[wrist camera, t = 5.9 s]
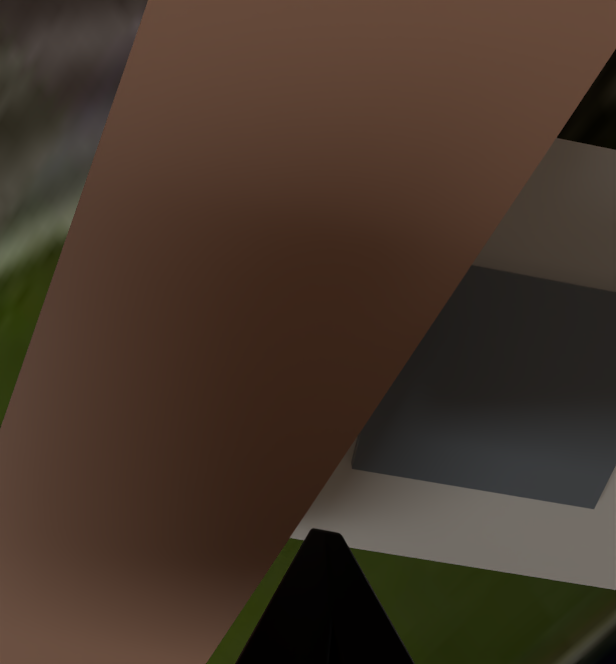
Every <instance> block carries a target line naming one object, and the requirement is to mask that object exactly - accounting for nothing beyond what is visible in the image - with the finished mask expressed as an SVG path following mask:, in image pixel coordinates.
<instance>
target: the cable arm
mask: <svg viewBox="0 0 616 664" xmlns="http://www.w3.org/2000/svg"><path fill="white" fill-rule="evenodd" d="M615 49H616V0H148V3H147V6H146V8H145V11H144V14H143V17H142V20H141V23H140V26H139V29H138V32H137V35H136V37H135V40H134V43H133V46H132V49H131V52H130V55H129V58H128V61H127V64H126V66H125V69H124V72H123V75H122V78H121V81H120V84H119V87H118V90H117V93H116V95H115V98H114V101H113V104H112V107H111V110H110V113H109V116H108V119H107V122H106V124H105V127H104V130H103V133H102V136H101V139H100V142H99V145H98V148H97V151H96V153H95V156H94V159H93V162H92V165H91V168H90V171H89V174H88V177H87V179H86V182H85V185H84V188H83V191H82V194H81V197H80V200H79V203H78V206H77V208H76V211H75V214H74V217H73V220H72V223H71V226H70V229H69V232H68V235H67V237H66V240H65V243H64V246H63V249H62V252H61V255H60V258H59V261H58V264H57V266H56V269H55V272H54V275H53V278H52V281H51V284H50V287H49V290H48V293H47V295H46V298H45V301H44V304H43V307H42V310H41V313H40V316H39V319H38V322H37V324H36V327H35V330H34V333H33V336H32V339H31V342H30V345H29V348H28V351H27V353H26V356H25V359H24V362H23V365H22V368H21V371H20V374H19V377H18V379H17V382H16V385H15V388H14V391H13V394H12V397H11V400H10V403H9V406H8V408H7V411H6V414H5V417H4V420H3V423H2V426H1V429H0V664H206V663H207V661H208V660H209V658H210V657H211V655H212V654H213V652H214V651H215V649H216V648H217V646H218V645H219V643H220V642H221V640H222V639H223V637H224V636H225V634H226V633H227V631H228V630H229V628H230V627H231V625H232V624H233V622H234V621H235V619H236V618H237V616H238V615H239V613H240V612H241V610H242V609H243V607H244V606H245V604H246V603H247V601H248V600H249V598H250V597H251V595H252V594H253V592H254V591H255V589H256V588H257V586H258V585H259V583H260V582H261V580H262V579H263V577H264V576H265V574H266V573H267V571H268V570H269V568H270V567H271V565H272V564H273V562H274V561H275V559H276V558H277V556H278V555H279V553H280V552H281V550H282V549H283V547H284V546H285V544H286V543H287V541H288V540H289V538H290V537H291V535H292V534H293V532H294V531H295V529H296V528H297V526H298V525H299V523H300V522H301V520H302V519H303V517H304V516H305V514H306V513H307V511H308V510H309V508H310V507H311V505H312V504H313V502H314V501H315V499H316V498H317V496H318V495H319V493H320V492H321V490H322V489H323V487H324V486H325V484H326V483H327V481H328V480H329V478H330V477H331V475H332V474H333V472H334V471H335V469H336V468H337V466H338V465H339V463H340V462H341V460H342V459H343V457H344V456H345V454H346V453H347V451H348V450H349V448H350V447H351V445H352V444H353V442H354V441H355V439H356V438H357V436H358V435H359V433H360V432H361V430H362V429H363V427H364V426H365V424H366V423H367V421H368V420H369V418H370V417H371V415H372V414H373V412H374V411H375V409H376V408H377V406H378V405H379V403H380V402H381V400H382V399H383V397H384V396H385V394H386V393H387V391H388V390H389V388H390V387H391V385H392V384H393V382H394V381H395V379H396V378H397V376H398V375H399V373H400V372H401V370H402V369H403V367H404V366H405V364H406V363H407V361H408V360H409V358H410V357H411V355H412V354H413V352H414V351H415V349H416V348H417V346H418V345H419V343H420V342H421V340H422V339H423V337H424V336H425V334H426V333H427V331H428V330H429V328H430V327H431V325H432V324H433V322H434V321H435V319H436V318H437V316H438V315H439V313H440V312H441V310H442V309H443V307H444V306H445V304H446V303H447V301H448V300H449V298H450V297H451V295H452V294H453V292H454V291H455V289H456V288H457V286H458V285H459V283H460V282H461V280H462V279H463V277H464V276H465V274H466V273H467V271H468V270H469V268H470V267H471V265H472V264H473V262H474V261H475V259H476V258H477V256H478V255H479V253H480V252H481V250H482V249H483V247H484V246H485V244H486V243H487V241H488V240H489V238H490V237H491V235H492V234H493V232H494V231H495V229H496V228H497V226H498V225H499V223H500V222H501V220H502V219H503V217H504V216H505V214H506V213H507V211H508V210H509V208H510V207H511V205H512V204H513V202H514V201H515V199H516V198H517V196H518V195H519V193H520V192H521V190H522V189H523V187H524V186H525V184H526V183H527V181H528V180H529V178H530V177H531V175H532V174H533V172H534V171H535V169H536V168H537V166H538V165H539V163H540V162H541V160H542V159H543V157H544V156H545V154H546V153H547V151H548V150H549V148H550V147H551V145H552V144H553V142H554V141H555V139H556V138H557V136H558V135H559V133H560V132H561V130H562V129H563V127H564V126H565V124H566V123H567V121H568V120H569V118H570V117H571V115H572V114H573V112H574V111H575V109H576V108H577V106H578V105H579V103H580V102H581V100H582V99H583V97H584V96H585V94H586V93H587V91H588V90H589V88H590V87H591V85H592V84H593V82H594V81H595V79H596V78H597V76H598V75H599V73H600V72H601V70H602V69H603V67H604V66H605V64H606V63H607V61H608V60H609V58H610V57H611V55H612V54H613V52H614V51H615Z"/></svg>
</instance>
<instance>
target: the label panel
mask: <svg viewBox="0 0 616 664" xmlns="http://www.w3.org/2000/svg"><path fill="white" fill-rule="evenodd" d="M312 528H317V529H322V530H327V531H333V532H338V533H340V534H341V535H342V536H343V538H344V539H345V541H346V543H347V545H348V546H349V547H350V548H357V549H363V550H369V551H376V552H382V553H388V554H394V555H401V556H407V557H413V558H419V559H426V560H432V561H438V562H444V563H451V564H457V565H463V566H470V567H476V568H482V569H488V570H495V571H501V572H507V573H513V574H520V575H526V576H532V577H538V578H545V579H551V580H557V581H564V582H570V583H576V584H582V585H589V586H595V587H601V588H607V589H614V590H616V150H614V149H609V148H604V147H599V146H594V145H589V144H584V143H579V142H574V141H569V140H564V139H559V138H556V139H555V141H554V142H553V144H552V145H551V147H550V148H549V150H548V151H547V153H546V154H545V156H544V157H543V159H542V160H541V162H540V163H539V165H538V166H537V168H536V169H535V171H534V172H533V174H532V175H531V177H530V178H529V180H528V181H527V183H526V184H525V186H524V187H523V189H522V190H521V192H520V193H519V195H518V196H517V198H516V199H515V201H514V202H513V204H512V205H511V207H510V208H509V210H508V211H507V213H506V214H505V216H504V217H503V219H502V220H501V222H500V223H499V225H498V226H497V228H496V229H495V231H494V232H493V234H492V235H491V237H490V238H489V240H488V241H487V243H486V244H485V246H484V247H483V249H482V250H481V252H480V253H479V255H478V256H477V258H476V259H475V261H474V262H473V264H472V265H471V267H470V268H469V270H468V271H467V273H466V274H465V276H464V277H463V279H462V280H461V282H460V283H459V285H458V286H457V288H456V289H455V291H454V292H453V294H452V295H451V297H450V298H449V300H448V301H447V303H446V304H445V306H444V307H443V309H442V310H441V312H440V313H439V315H438V316H437V318H436V319H435V321H434V322H433V324H432V325H431V327H430V328H429V330H428V331H427V333H426V334H425V336H424V337H423V339H422V340H421V342H420V343H419V345H418V346H417V348H416V349H415V351H414V352H413V354H412V355H411V357H410V358H409V360H408V361H407V363H406V364H405V366H404V367H403V369H402V370H401V372H400V373H399V375H398V376H397V378H396V379H395V381H394V382H393V384H392V385H391V387H390V388H389V390H388V391H387V393H386V394H385V396H384V397H383V399H382V400H381V402H380V403H379V405H378V406H377V408H376V409H375V411H374V412H373V414H372V415H371V417H370V418H369V420H368V421H367V423H366V424H365V426H364V427H363V429H362V430H361V432H360V433H359V435H358V436H357V438H356V439H355V441H354V442H353V444H352V445H351V447H350V448H349V450H348V451H347V453H346V454H345V456H344V457H343V459H342V460H341V462H340V463H339V465H338V466H337V468H336V469H335V471H334V472H333V474H332V475H331V477H330V478H329V480H328V481H327V483H326V484H325V486H324V487H323V489H322V490H321V492H320V493H319V495H318V496H317V498H316V499H315V501H314V502H313V504H312V505H311V507H310V508H309V510H308V511H307V513H306V514H305V516H304V517H303V519H302V520H301V522H300V523H299V525H298V526H297V528H296V529H295V531H294V532H293V534H292V535H291V537H290V538H294V539H300V540H305V538H306V536H307V534H308V533H309V531H310V530H311V529H312Z"/></svg>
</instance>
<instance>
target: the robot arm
mask: <svg viewBox="0 0 616 664" xmlns="http://www.w3.org/2000/svg"><path fill="white" fill-rule="evenodd" d="M235 664H415V663H414V662H413V660H412V658H411V656H410V655H409V653H408V651H407V649H406V647H405V646H404V644H403V642H402V640H401V639H400V637H399V635H398V633H397V631H396V630H395V628H394V626H393V624H392V623H391V621H390V619H389V617H388V616H387V614H386V612H385V610H384V608H383V607H382V605H381V603H380V601H379V600H378V598H377V596H376V594H375V592H374V591H373V589H372V587H371V585H370V584H369V582H368V580H367V578H366V577H365V575H364V573H363V571H362V569H361V568H360V566H359V564H358V562H357V561H356V559H355V557H354V555H353V554H352V552H351V550H350V548H349V546H348V545H347V543H346V541H345V539H344V538H343V536H342V535H341V534H340V533H338V532H333V531H327V530H322V529H317V528H312V529H311V530H310V531H309V533H308V534H307V536H306V538H305V540H304V542H303V543H302V545H301V547H300V549H299V550H298V552H297V554H296V556H295V558H294V559H293V561H292V563H291V565H290V567H289V568H288V570H287V572H286V574H285V576H284V577H283V579H282V581H281V583H280V584H279V586H278V588H277V590H276V592H275V593H274V595H273V597H272V599H271V601H270V602H269V604H268V606H267V608H266V609H265V611H264V613H263V615H262V617H261V618H260V620H259V622H258V624H257V626H256V627H255V629H254V631H253V633H252V634H251V636H250V638H249V640H248V642H247V643H246V645H245V647H244V649H243V651H242V652H241V654H240V656H239V658H238V659H237V661H236V663H235Z"/></svg>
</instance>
